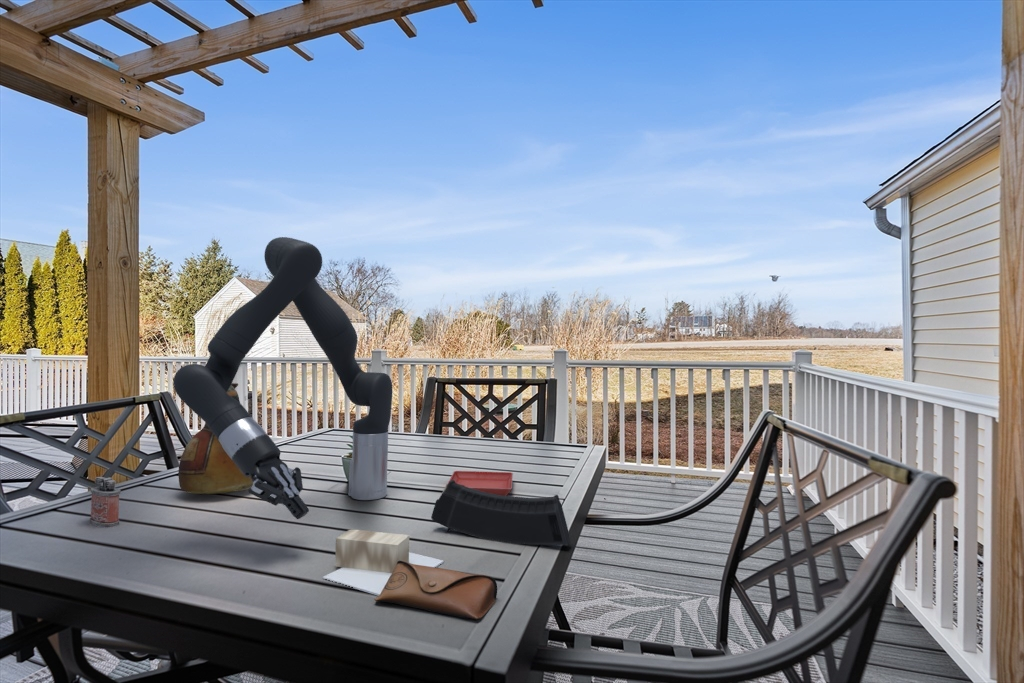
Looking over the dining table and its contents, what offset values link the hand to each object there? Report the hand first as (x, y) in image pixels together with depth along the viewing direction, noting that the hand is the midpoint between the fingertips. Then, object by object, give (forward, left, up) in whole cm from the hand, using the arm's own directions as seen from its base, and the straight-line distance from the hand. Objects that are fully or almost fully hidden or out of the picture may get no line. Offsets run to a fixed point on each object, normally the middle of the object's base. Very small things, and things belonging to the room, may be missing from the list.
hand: (303, 515), depth 97 cm
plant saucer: (+4, +59, -9) cm, 60 cm away
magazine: (+27, +27, -8) cm, 39 cm away
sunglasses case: (+32, -2, -8) cm, 33 cm away
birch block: (+8, +2, -5) cm, 10 cm away
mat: (+17, +3, -8) cm, 19 cm away
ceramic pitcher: (-54, +19, -8) cm, 58 cm away
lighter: (-52, -9, -8) cm, 54 cm away
